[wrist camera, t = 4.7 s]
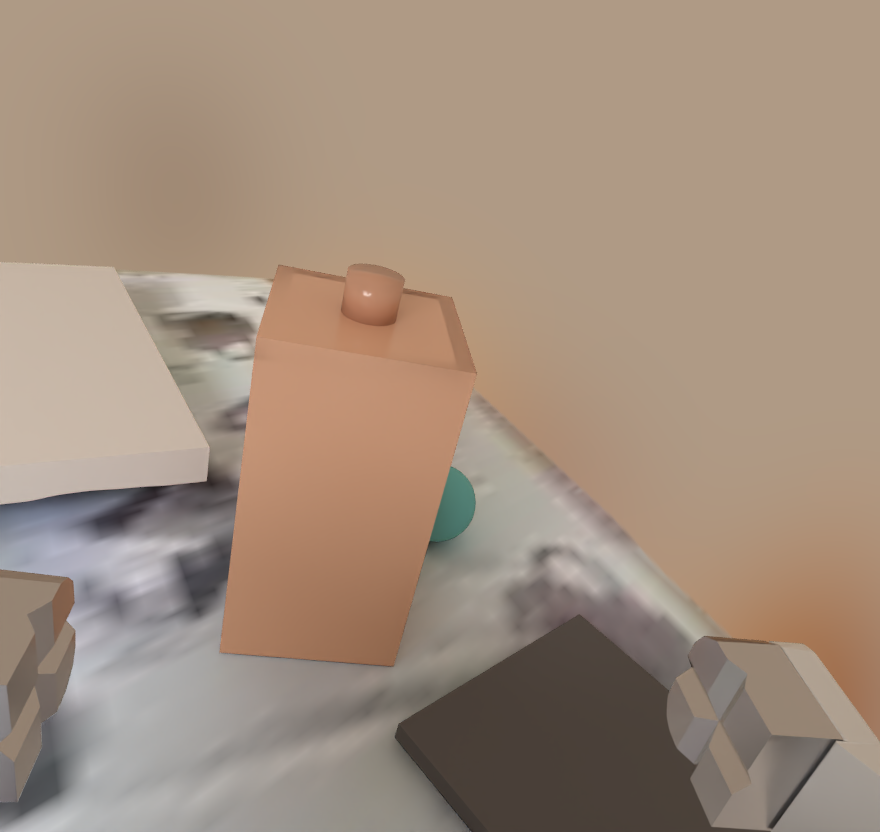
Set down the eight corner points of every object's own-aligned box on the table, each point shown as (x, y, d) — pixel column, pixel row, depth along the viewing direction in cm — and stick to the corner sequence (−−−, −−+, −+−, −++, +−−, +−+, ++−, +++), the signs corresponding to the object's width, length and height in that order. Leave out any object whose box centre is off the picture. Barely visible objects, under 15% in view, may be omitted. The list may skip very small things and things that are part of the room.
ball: (376, 521, 30) (391, 458, 29) (431, 501, 32) (448, 443, 31) (424, 567, 28) (443, 503, 27) (479, 543, 30) (500, 483, 29)
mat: (394, 736, 21) (399, 723, 21) (574, 625, 27) (579, 614, 27) (639, 1037, 16) (649, 1024, 16) (794, 817, 22) (804, 806, 22)
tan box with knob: (219, 652, 22) (262, 290, 17) (243, 538, 27) (283, 226, 22) (393, 666, 24) (489, 331, 18) (387, 554, 28) (460, 262, 23)
